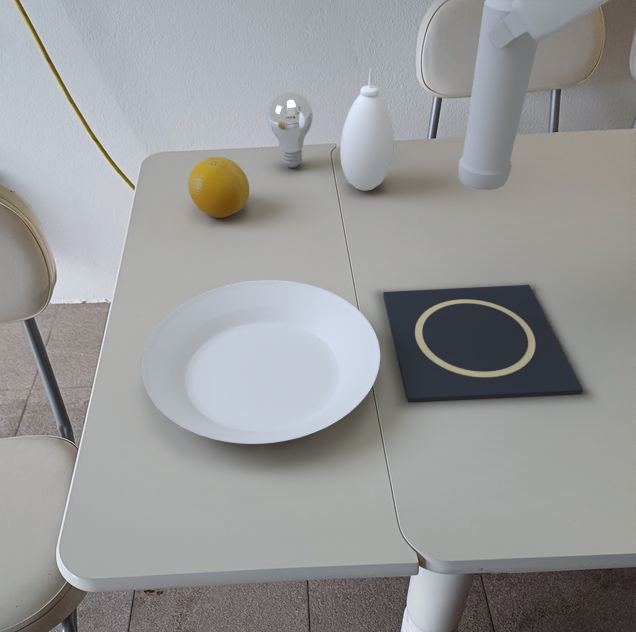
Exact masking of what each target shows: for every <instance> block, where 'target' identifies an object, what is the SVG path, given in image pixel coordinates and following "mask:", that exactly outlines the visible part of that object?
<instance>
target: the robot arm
mask: <svg viewBox="0 0 636 632" xmlns="http://www.w3.org/2000/svg"><path fill="white" fill-rule="evenodd" d="M607 2H609V0H514V1H513V4H512V7H513V11H512V12H511V13H510V14H509V15H508V16H506V17H505V18H504V19H503V20H502V21H500V22H499V23H498V24H497V25H495V26H494V27H493V28H492V29H491V30H490V31H489V33H488V39H489V40H490V42H491V43H492V45H493V46H494V48H495V49H498V50H500V49H502V48H503V47H505V46H506V45H507V44H509V43H510V42H511V41H513V40H514V39H515V38H517V37H519V36H521V35H522V34H524V33H526V32H528V33H529V34H530V35H531V37H532V38H533V39H534V40H536V41H538V42H539V41H543V40H546V39H548V38H550V37H552V36H554V35H555V34H557V33H559V32H561V31H562V30H564V29H565V28H568V27H569V26H571V25H573V23H575V22H577V21H578V20H580V19H581V18H583V17H585V16H586V15H588V14H589V13H592V12H593V11H595V10H596V9H598V8H599V7H601V6H602V5H603V4H605V3H607Z"/></svg>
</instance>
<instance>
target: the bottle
mask: <svg viewBox="0 0 636 632" xmlns="http://www.w3.org/2000/svg"><path fill="white" fill-rule="evenodd" d="M513 1H514V0H485V1H484V2H483V9H482V16H481V23H480V29H479V36H478V43H477V51H476V57H475V59H476V60H475V64H474V65H475V66H474V71H473V72H474V74H473V79H472V80H473V81H472V88H471V93H470V94H471V95H470V102H469V109H468V116H467V123H466V132H465V138H464V144H463V151H462V156H461V157H460V158H459V160H458V168H457V169H458V171H457V172H458V173H457V174H458V178H459V182H461V183H462V184H463V185H464V186H467V187H468V188H470V189H475V190H480V191H492V190H497V189H500V188H502V187H503V186H505V184H506V183H507V181H508V179H509V176H510V174H511V171H512V167H513V165H512V162H511V158H512V153H513V149H514V145H515V141H516V138H517V133H518V128H519V124H520V119H521V116H522V111H523V107H524V103H525V99H526V95H527V91H528V86H529V82H530V78H531V74H532V69H533V65H534V62H535V57H536V52H537V50H538V45H539V41H536V40H534V39H533V38H532V37H531V35H530V34H529V33H528V32H526V33H524V34H522V35H521V36H519V37H517V38H515V39H514V40H513V41H511V42H510V43H509V44H507V45H506V46H505V47H503V48H502V49H500V50H498V49H495V48H494V46H493V45H492V43H491V42H490V40H489V39H488V33H489V31H490V30H491V29H492V28H493V27H494V26H495V25H497V24H498V23H499V22H500V21H502V20H503V19H504V18H505V17H506V16H508V15H509V14H510V13H511V12H512V11H513V7H512V4H513Z"/></svg>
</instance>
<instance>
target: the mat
mask: <svg viewBox="0 0 636 632" xmlns="http://www.w3.org/2000/svg"><path fill="white" fill-rule="evenodd" d="M382 296H383V301H384V305H385V309H386V313H387V318H388V322H389V327H390V330H391V335H392V340H393V343H394V349H395V352H396V353H395V354H396V358H397V361H398V366H399V370H400V375H401V378H402V383H403V388H404V392H405V396H406V401H407V403H414V402H415V403H416V402H417V403H418V402H435V401H459V400H474V399H475V400H479V399H496V398H497V399H498V398H501V399H502V398H519V397H520V398H521V397H538V396H539V397H541V396H562V395H580V394H582V393H583V390H584V389H583V388H582V385H581V384H580V383H581V382H579V379H578V378H577V376H576V374H575V372H574V370H573V368H572V366H571V364H570V362H569V361H568V358H567V356H566V354H565V351H564V350H563V348H562V346H561V345H560V343H559V339H557V337H556V334H555V332H554V331H553V329H552V327H551V325H550V323H549V320H548V319H547V317H546V315H545V313H544V311H543V309H542V307H541V305H540V303H539V301H538V299H537V297H536V295H535V294H534V291H533V289H532V287H531V286H530V284H517V285H496V286H475V287H473V286H472V287H456V288H454V287H453V288H433V289H432V288H431V289H417V290H416V289H415V290H413V289H412V290H394V291H391V290H390V291H383V293H382Z"/></svg>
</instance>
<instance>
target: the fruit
mask: <svg viewBox="0 0 636 632" xmlns="http://www.w3.org/2000/svg"><path fill="white" fill-rule="evenodd" d="M187 186H188V192H189V195H190V198H191V200H192V202H193V204H195V206H196V207H197V208H198V209H199V210H200V211H201V212H203V213H205V214H206V215H208V216H211V217H213V218H218V219H219V218H220V219H223V218H227V217H231V216H232V215H234V214H236V213H238V212H240V211H241V210H242V209H243V208H244V207H245V205H246V203H247V202H248V199H249V196H250V183H249V180H248V177H247V175H246V174H245V172H244V170H243V169H242V168H241V166H239V165H238V164H237V163H236V162H234V161H233V160H231V159H229V158H226V157H223V156H211V157H208V158H205V159H203V160H201V161H200V162H198V163H197V164H196V165H195V166H194V167H193V169H192V170H191V172H190V174H189V176H188V183H187Z"/></svg>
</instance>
